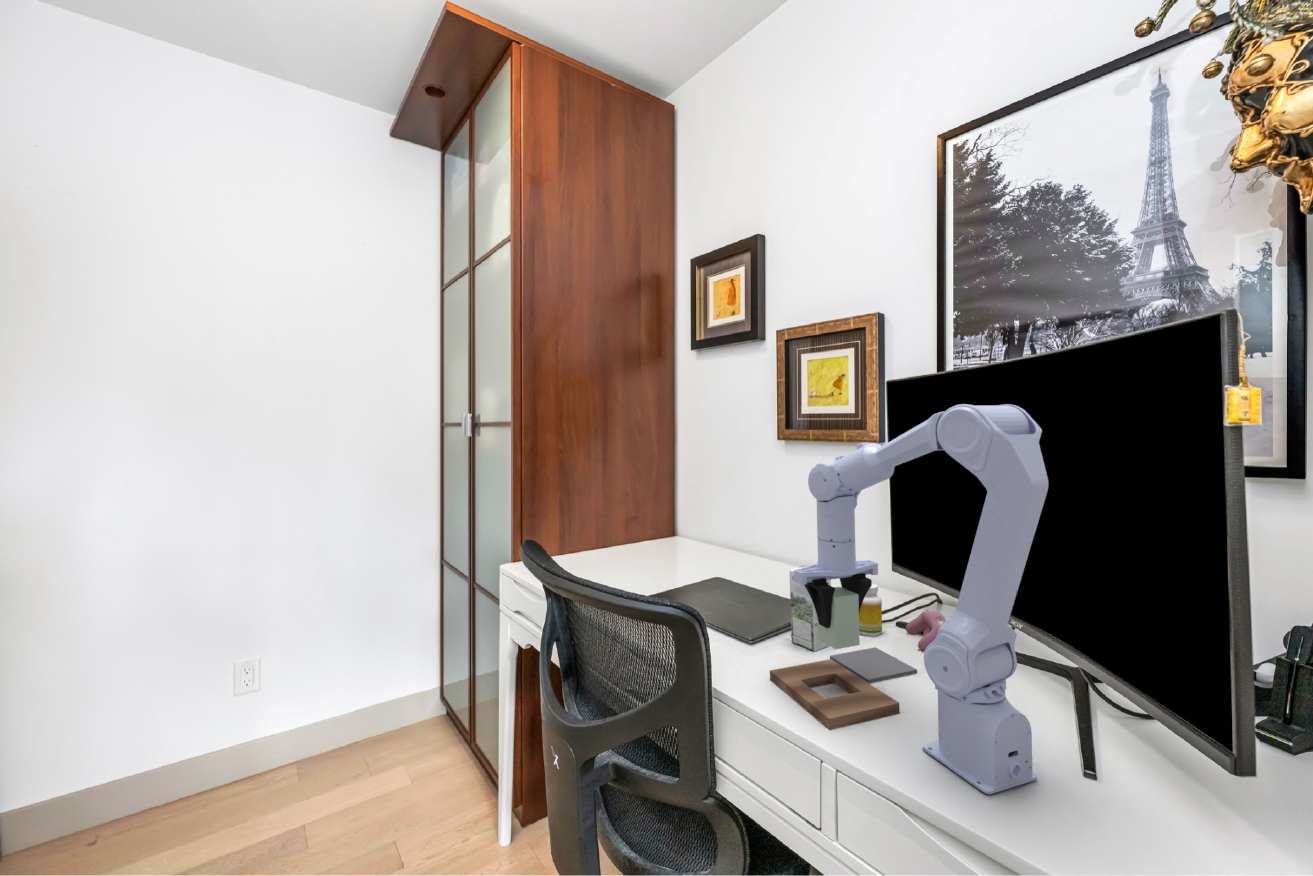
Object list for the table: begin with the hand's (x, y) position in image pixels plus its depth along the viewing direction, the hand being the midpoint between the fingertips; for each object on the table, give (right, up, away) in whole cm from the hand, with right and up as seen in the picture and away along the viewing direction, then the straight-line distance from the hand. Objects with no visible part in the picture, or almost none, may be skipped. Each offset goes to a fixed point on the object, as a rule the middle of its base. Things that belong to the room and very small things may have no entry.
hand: (838, 623), depth 85 cm
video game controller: (+23, -10, +17) cm, 31 cm away
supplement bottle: (+14, -10, +23) cm, 29 cm away
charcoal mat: (+9, -10, +8) cm, 15 cm away
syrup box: (+1, -10, +18) cm, 21 cm away
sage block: (0, -3, 0) cm, 3 cm away
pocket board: (-2, -11, -2) cm, 11 cm away
